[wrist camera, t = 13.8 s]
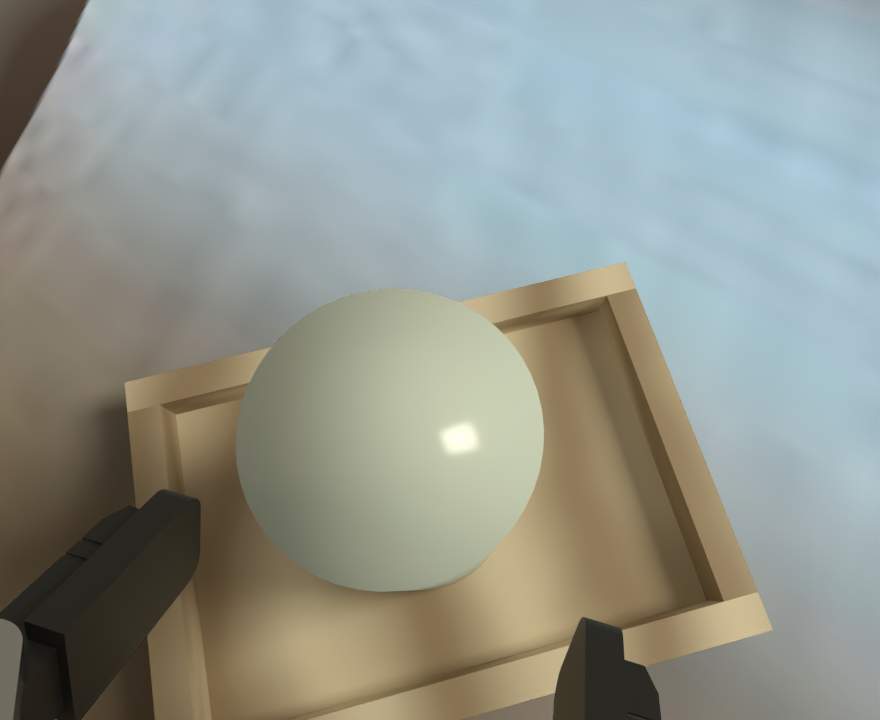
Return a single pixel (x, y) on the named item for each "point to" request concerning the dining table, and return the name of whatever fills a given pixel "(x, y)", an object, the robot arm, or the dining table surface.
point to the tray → (499, 577)
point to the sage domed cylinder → (390, 441)
